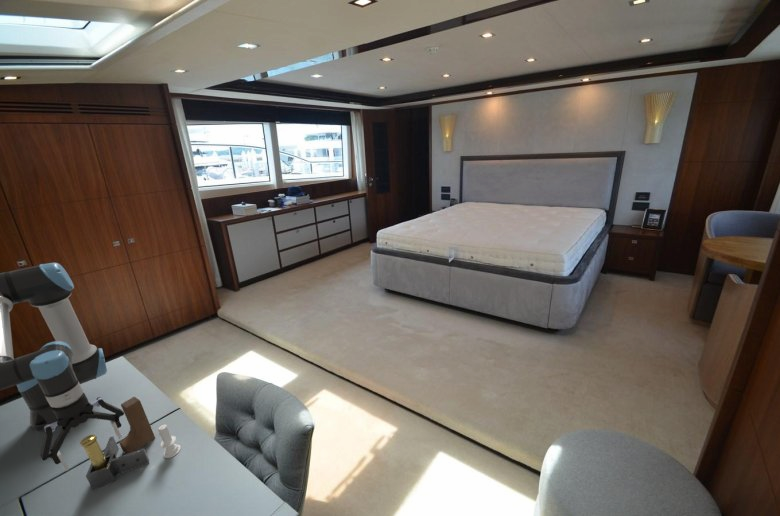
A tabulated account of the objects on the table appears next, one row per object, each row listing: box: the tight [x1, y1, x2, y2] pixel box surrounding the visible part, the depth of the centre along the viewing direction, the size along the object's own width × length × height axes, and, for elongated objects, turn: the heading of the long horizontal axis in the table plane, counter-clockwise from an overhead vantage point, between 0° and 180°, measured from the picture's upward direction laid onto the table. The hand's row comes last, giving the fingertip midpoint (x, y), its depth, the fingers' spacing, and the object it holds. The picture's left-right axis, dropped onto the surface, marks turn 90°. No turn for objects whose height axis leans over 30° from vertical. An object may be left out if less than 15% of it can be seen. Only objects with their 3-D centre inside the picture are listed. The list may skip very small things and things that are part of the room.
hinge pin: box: [80, 434, 108, 471], centre depth 109 cm, size 4×4×17 cm
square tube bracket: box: [85, 436, 150, 490], centre depth 116 cm, size 15×15×6 cm
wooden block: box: [119, 396, 156, 455], centre depth 120 cm, size 9×4×18 cm, turn 148°
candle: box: [158, 423, 182, 459], centre depth 117 cm, size 5×5×12 cm
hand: (94, 451), depth 108 cm, fingers open, 13 cm apart
